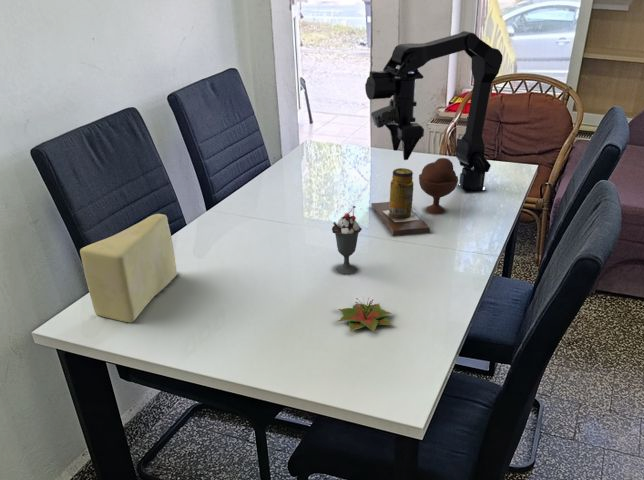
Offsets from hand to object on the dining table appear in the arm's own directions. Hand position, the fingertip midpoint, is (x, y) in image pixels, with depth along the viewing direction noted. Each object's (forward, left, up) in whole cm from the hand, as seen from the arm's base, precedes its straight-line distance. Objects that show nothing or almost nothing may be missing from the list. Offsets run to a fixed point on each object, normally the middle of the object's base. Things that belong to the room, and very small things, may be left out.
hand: (400, 155), depth 182 cm
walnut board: (+4, +15, -13) cm, 20 cm away
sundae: (+26, +41, -13) cm, 50 cm away
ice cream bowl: (-8, +10, -13) cm, 19 cm away
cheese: (+71, +44, -13) cm, 84 cm away
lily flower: (+28, +64, -13) cm, 71 cm away
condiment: (+4, +16, -12) cm, 20 cm away
